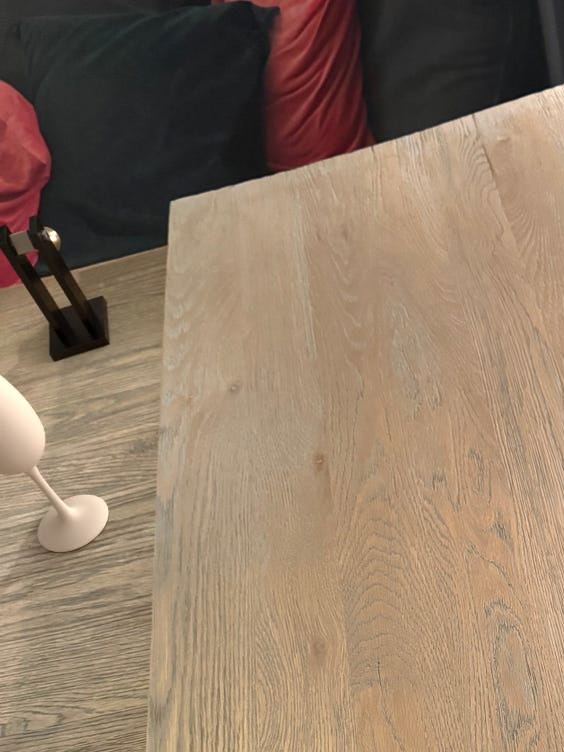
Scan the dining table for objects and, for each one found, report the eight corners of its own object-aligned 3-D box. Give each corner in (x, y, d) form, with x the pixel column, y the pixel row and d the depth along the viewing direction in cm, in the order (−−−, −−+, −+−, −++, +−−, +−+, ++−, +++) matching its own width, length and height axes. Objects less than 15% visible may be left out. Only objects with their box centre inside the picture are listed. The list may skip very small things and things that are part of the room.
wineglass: (24, 536, 111) (-94, 402, 94) (77, 486, 114) (-28, 348, 97) (70, 563, 108) (-44, 429, 90) (123, 511, 111) (23, 372, 93)
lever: (43, 258, 132) (31, 231, 130) (68, 250, 132) (56, 223, 130) (15, 261, 120) (1, 231, 118) (42, 252, 120) (28, 223, 118)
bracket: (53, 318, 135) (-13, 218, 122) (106, 302, 135) (47, 199, 122) (53, 361, 129) (-15, 261, 116) (109, 344, 129) (47, 241, 116)
